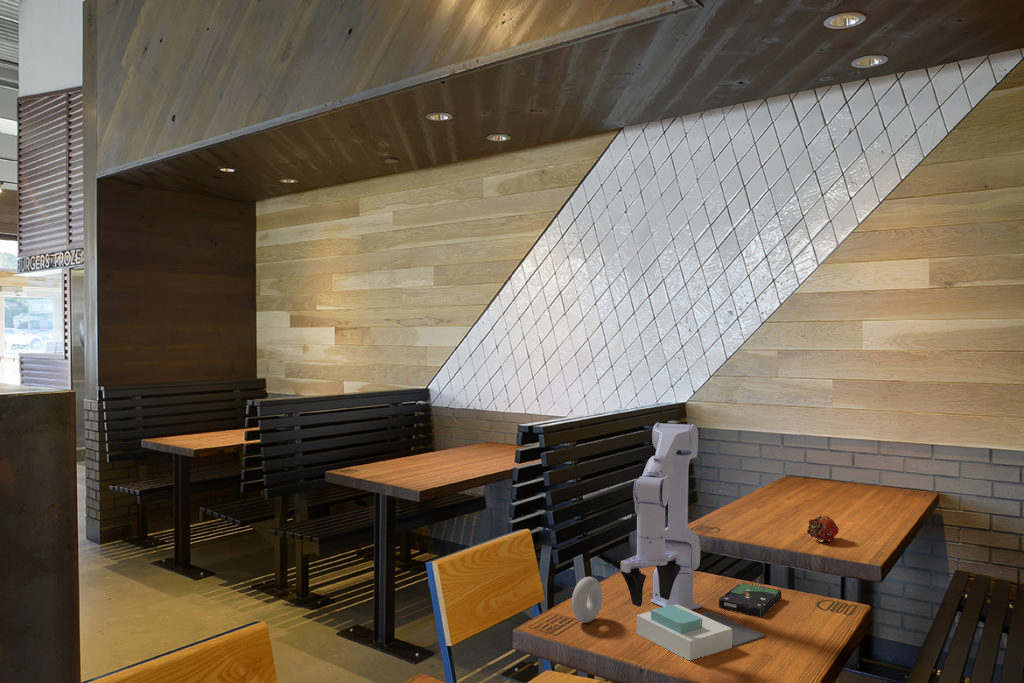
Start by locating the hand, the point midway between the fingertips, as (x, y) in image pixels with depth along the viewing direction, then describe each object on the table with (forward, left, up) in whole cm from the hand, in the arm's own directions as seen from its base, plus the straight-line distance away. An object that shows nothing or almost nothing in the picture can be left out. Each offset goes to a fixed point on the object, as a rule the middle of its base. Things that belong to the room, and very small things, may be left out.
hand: (650, 601), depth 151 cm
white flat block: (0, +9, -10) cm, 14 cm away
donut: (-19, -2, -10) cm, 22 cm away
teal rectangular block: (0, +7, -6) cm, 10 cm away
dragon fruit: (-31, +99, -11) cm, 105 cm away
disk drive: (-7, +38, -11) cm, 40 cm away
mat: (0, +21, -10) cm, 23 cm away
